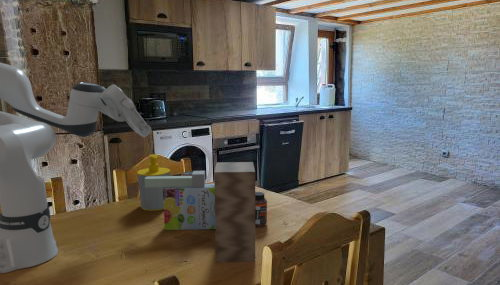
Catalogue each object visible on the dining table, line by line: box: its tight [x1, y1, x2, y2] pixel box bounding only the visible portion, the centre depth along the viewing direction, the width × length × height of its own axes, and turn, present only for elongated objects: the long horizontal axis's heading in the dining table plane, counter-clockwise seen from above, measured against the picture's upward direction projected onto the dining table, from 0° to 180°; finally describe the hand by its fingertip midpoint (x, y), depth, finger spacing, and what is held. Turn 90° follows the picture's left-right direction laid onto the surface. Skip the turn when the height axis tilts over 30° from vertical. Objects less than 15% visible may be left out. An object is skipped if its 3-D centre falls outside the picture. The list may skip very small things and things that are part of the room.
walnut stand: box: [213, 161, 256, 263], centre depth 104 cm, size 11×12×26 cm
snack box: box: [163, 183, 215, 231], centre depth 124 cm, size 21×6×15 cm, turn 92°
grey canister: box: [136, 154, 171, 212], centre depth 145 cm, size 13×13×21 cm
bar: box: [144, 170, 206, 187], centre depth 122 cm, size 20×5×4 cm, turn 93°
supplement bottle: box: [255, 191, 268, 228], centre depth 127 cm, size 6×6×11 cm
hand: (141, 118), depth 116 cm, fingers open, 8 cm apart
